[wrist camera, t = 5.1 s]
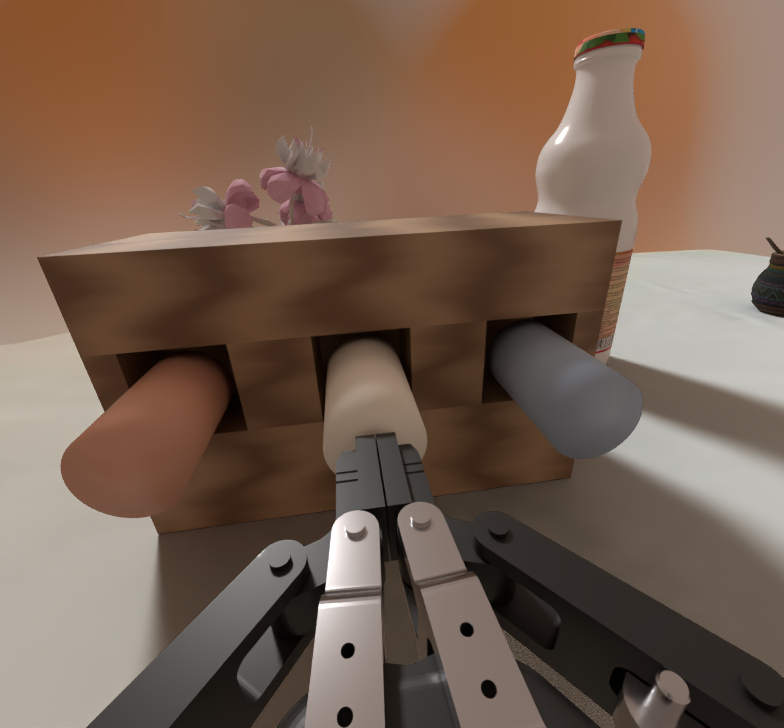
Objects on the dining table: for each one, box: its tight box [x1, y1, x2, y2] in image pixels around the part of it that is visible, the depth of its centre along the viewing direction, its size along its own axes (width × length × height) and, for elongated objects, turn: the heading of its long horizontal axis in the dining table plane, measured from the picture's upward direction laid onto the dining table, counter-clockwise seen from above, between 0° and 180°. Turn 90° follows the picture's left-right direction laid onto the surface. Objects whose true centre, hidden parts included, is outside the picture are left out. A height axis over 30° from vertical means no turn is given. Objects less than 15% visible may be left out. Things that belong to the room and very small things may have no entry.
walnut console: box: [37, 211, 622, 534], centre depth 25 cm, size 26×10×16 cm, turn 98°
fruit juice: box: [534, 28, 651, 365], centre depth 36 cm, size 9×9×28 cm
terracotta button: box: [61, 350, 234, 518], centre depth 16 cm, size 7×4×4 cm, turn 8°
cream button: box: [323, 334, 427, 474], centre depth 17 cm, size 7×4×4 cm, turn 8°
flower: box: [179, 126, 339, 231], centre depth 52 cm, size 20×22×25 cm
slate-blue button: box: [486, 320, 643, 459], centre depth 18 cm, size 7×4×4 cm, turn 8°
